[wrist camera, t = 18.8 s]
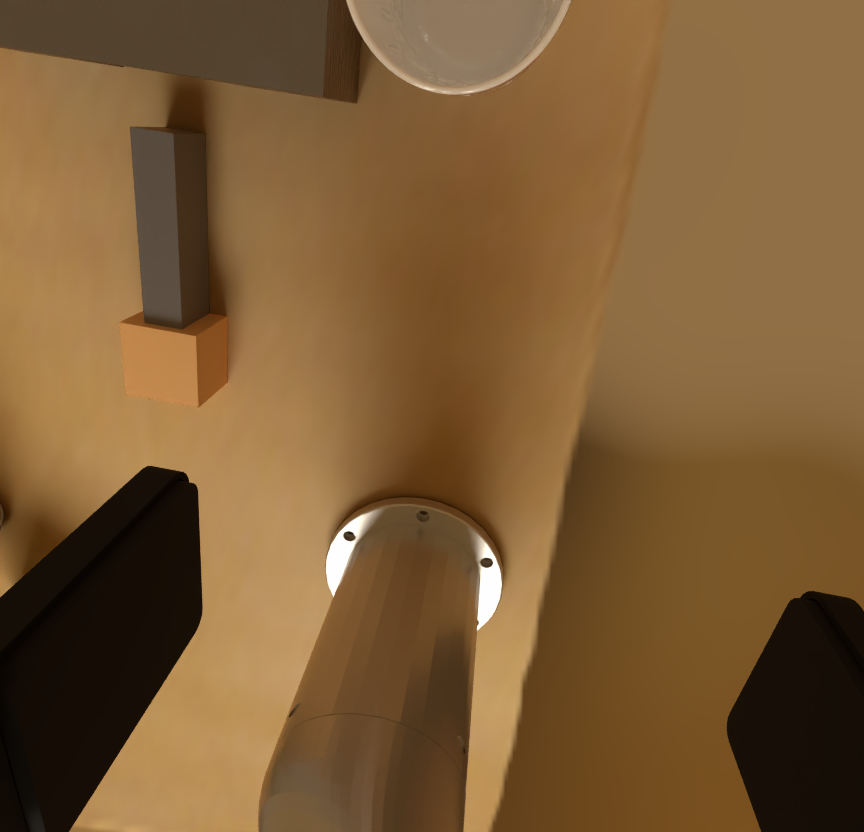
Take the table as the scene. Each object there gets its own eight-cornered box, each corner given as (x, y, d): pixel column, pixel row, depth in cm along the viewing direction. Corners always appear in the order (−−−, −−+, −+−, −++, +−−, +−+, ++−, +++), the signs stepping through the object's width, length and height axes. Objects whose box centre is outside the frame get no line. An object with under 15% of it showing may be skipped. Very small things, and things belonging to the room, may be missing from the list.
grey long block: (356, 103, 30) (323, 96, 25) (14, 50, 31) (-90, 32, 26) (363, 10, 29) (328, -19, 23) (1, -43, 30) (-113, -83, 24)
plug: (227, 382, 38) (198, 407, 35) (162, 370, 38) (125, 394, 35) (225, 137, 32) (189, 137, 28) (146, 124, 32) (100, 122, 29)
